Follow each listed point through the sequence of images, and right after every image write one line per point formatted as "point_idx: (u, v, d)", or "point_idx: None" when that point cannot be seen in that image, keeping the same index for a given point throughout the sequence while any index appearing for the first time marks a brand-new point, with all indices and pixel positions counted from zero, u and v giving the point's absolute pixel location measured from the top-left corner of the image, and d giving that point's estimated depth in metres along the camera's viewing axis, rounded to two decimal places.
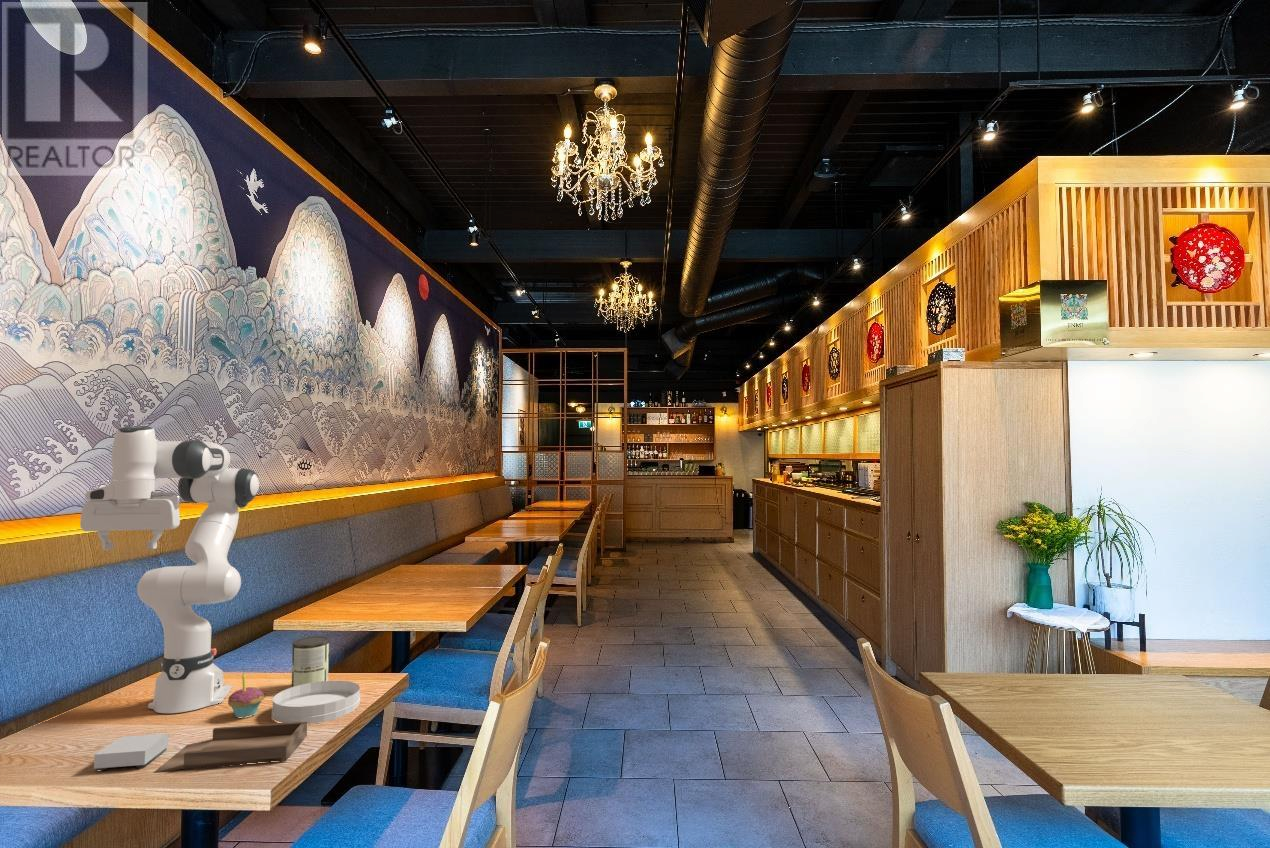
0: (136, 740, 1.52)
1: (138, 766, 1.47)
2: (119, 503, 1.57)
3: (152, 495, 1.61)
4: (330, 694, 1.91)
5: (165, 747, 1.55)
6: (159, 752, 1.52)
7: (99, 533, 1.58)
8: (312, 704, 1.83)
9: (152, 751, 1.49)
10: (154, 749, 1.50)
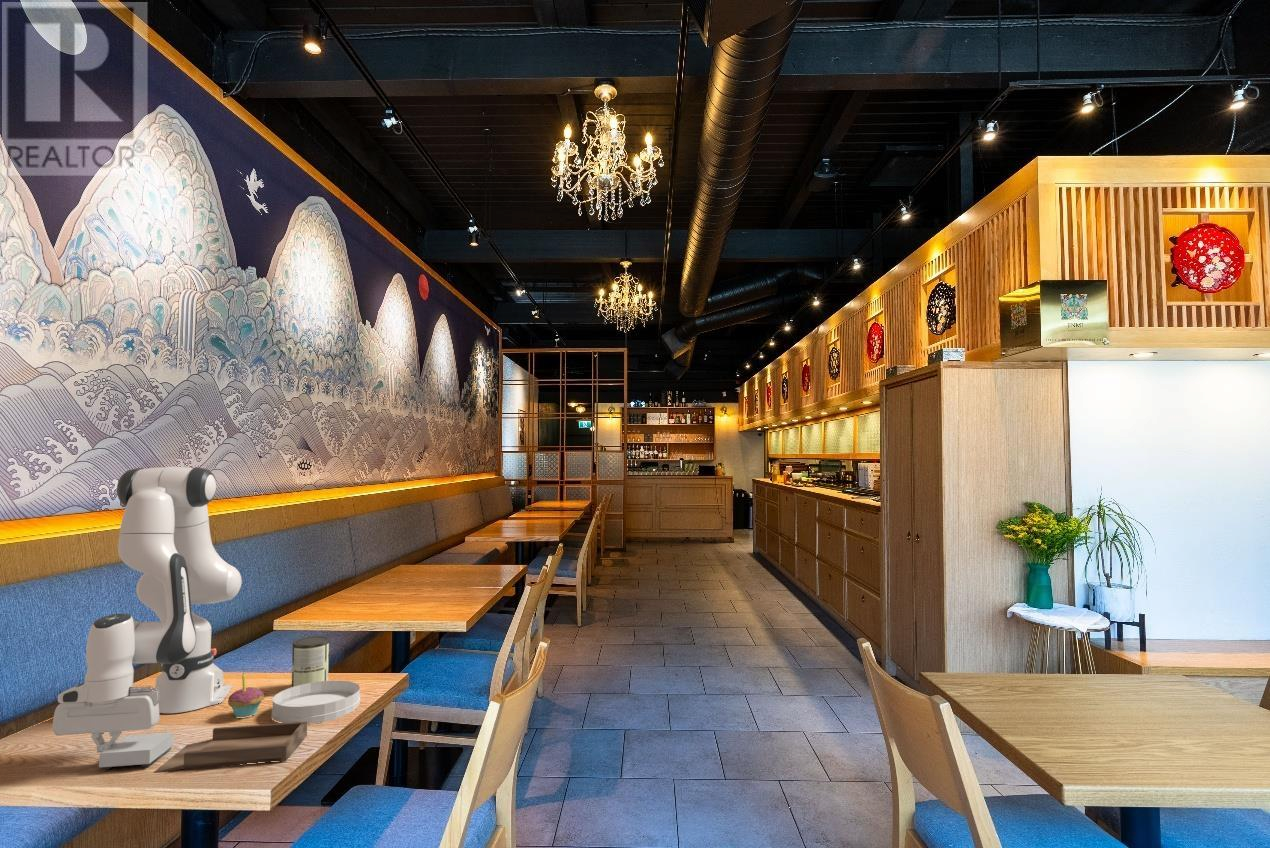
0: (141, 739, 1.53)
1: (143, 765, 1.47)
2: (94, 705, 1.47)
3: (129, 692, 1.51)
4: (330, 694, 1.91)
5: (170, 746, 1.55)
6: (164, 751, 1.53)
7: (93, 735, 1.48)
8: (312, 704, 1.83)
9: (157, 750, 1.50)
10: (159, 748, 1.50)
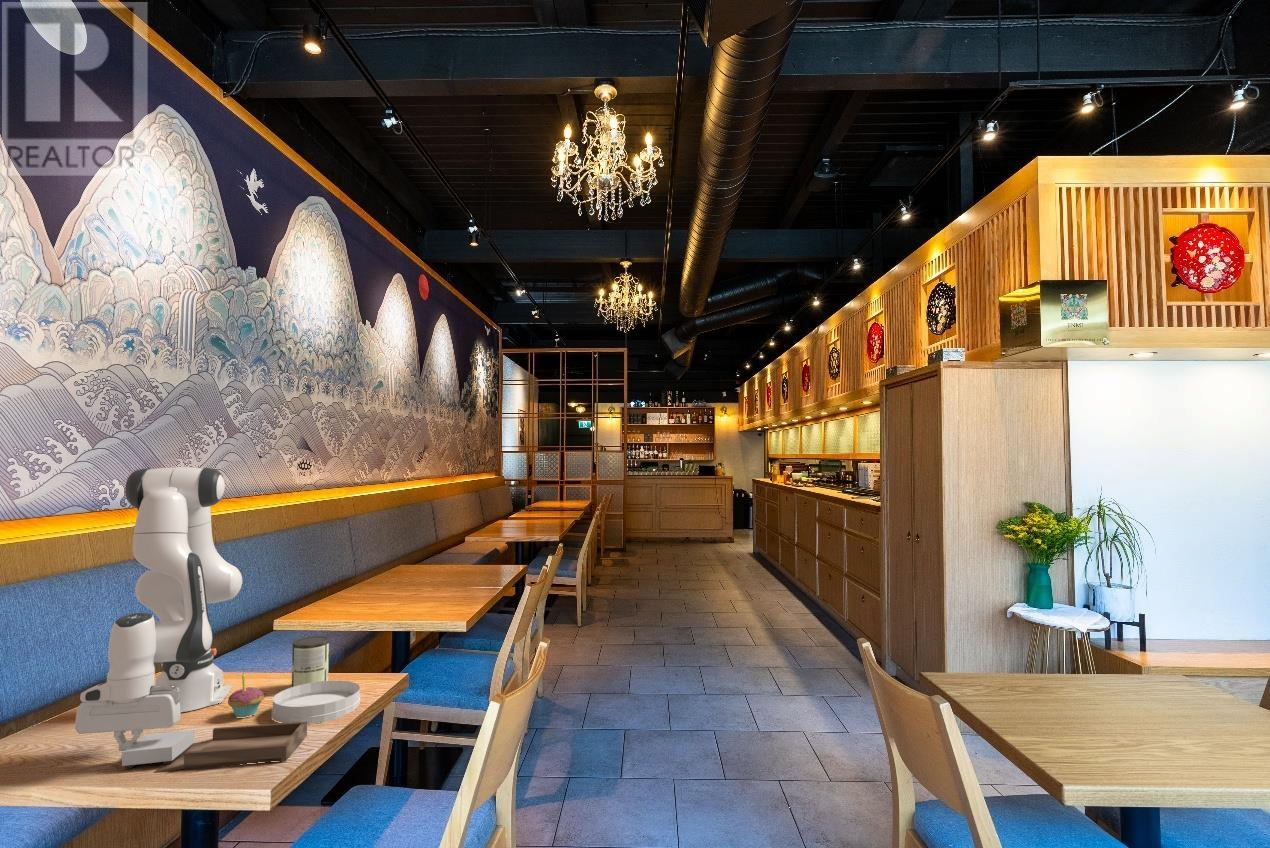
0: (162, 737, 1.53)
1: (165, 762, 1.47)
2: (116, 703, 1.48)
3: (151, 690, 1.52)
4: (330, 694, 1.91)
5: (191, 743, 1.56)
6: (185, 748, 1.53)
7: (115, 733, 1.49)
8: (312, 704, 1.83)
9: (179, 747, 1.50)
10: (181, 745, 1.51)
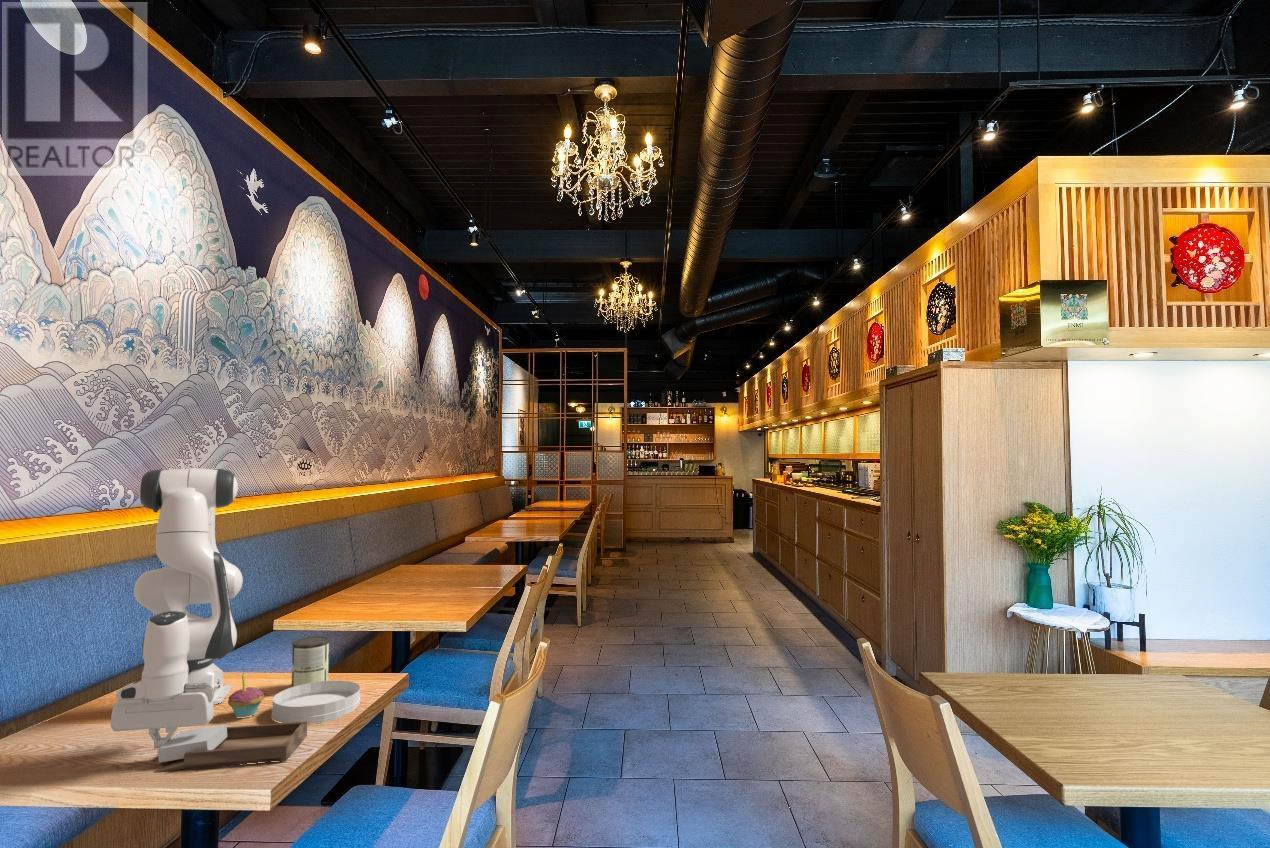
0: (196, 733, 1.55)
1: None
2: (151, 701, 1.49)
3: (185, 688, 1.53)
4: (330, 694, 1.91)
5: (225, 738, 1.57)
6: (220, 742, 1.55)
7: (150, 731, 1.50)
8: (312, 704, 1.83)
9: (213, 741, 1.52)
10: (215, 739, 1.53)
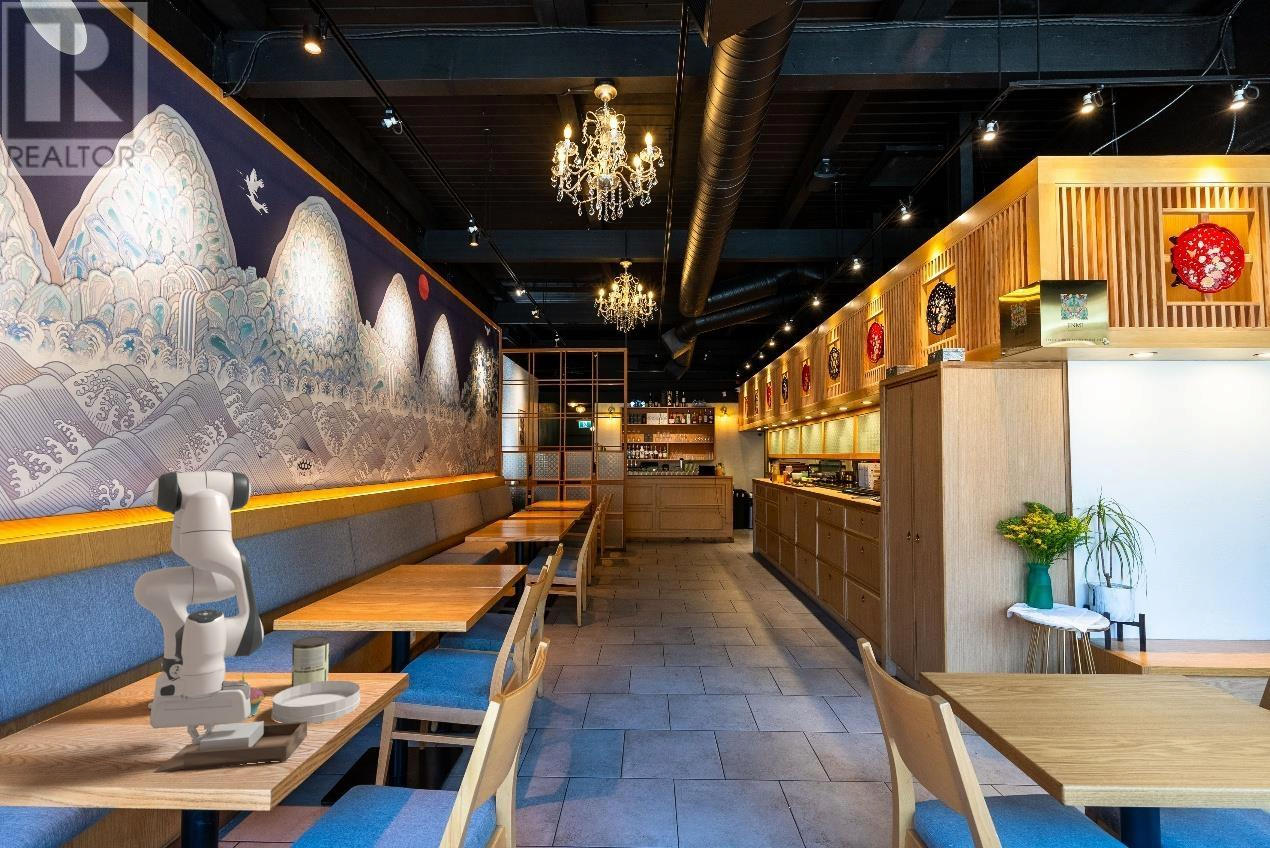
0: (235, 727, 1.56)
1: None
2: (190, 698, 1.51)
3: (223, 686, 1.54)
4: (330, 694, 1.91)
5: (262, 735, 1.59)
6: (257, 739, 1.56)
7: (189, 728, 1.52)
8: (312, 704, 1.83)
9: (253, 738, 1.54)
10: (254, 736, 1.54)
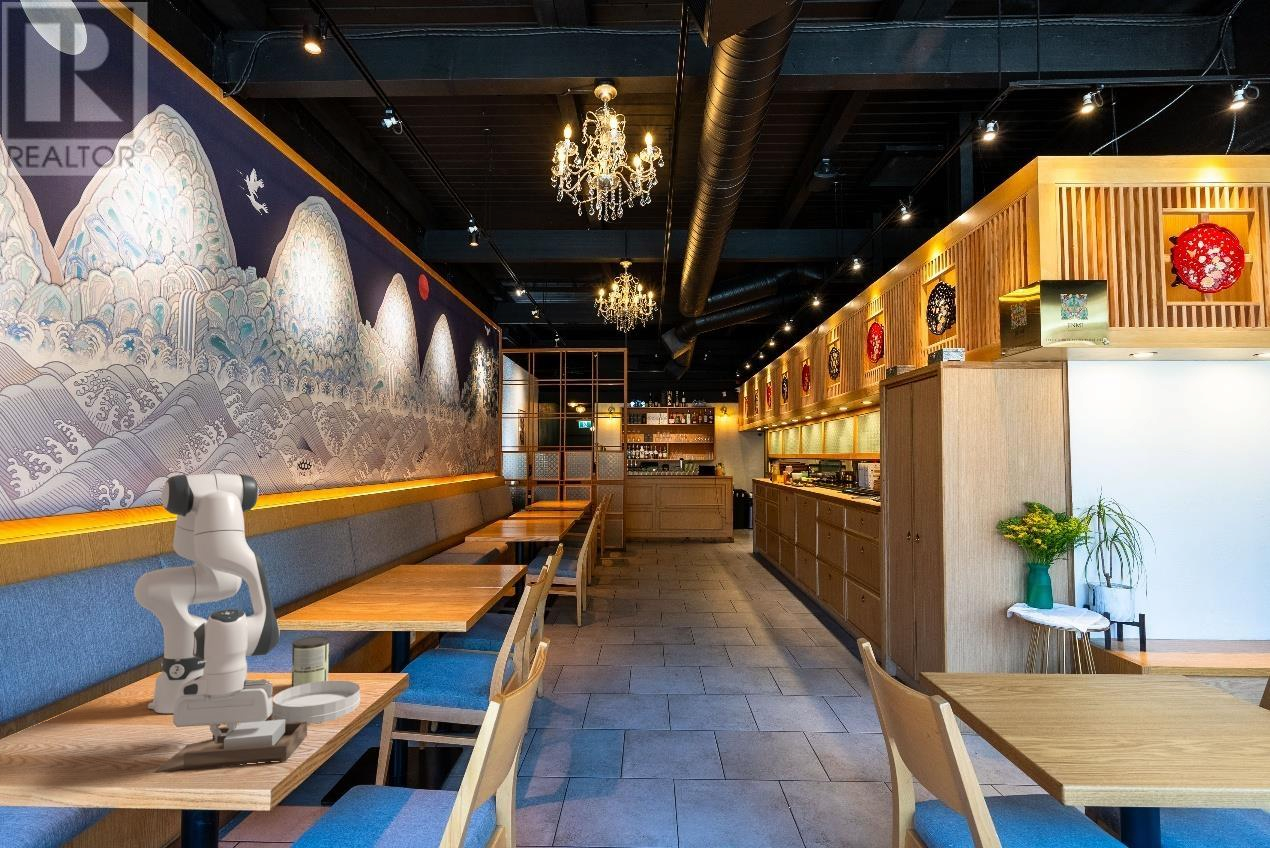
0: (257, 725, 1.57)
1: None
2: (213, 697, 1.51)
3: (245, 685, 1.55)
4: (330, 694, 1.91)
5: (283, 733, 1.60)
6: (280, 737, 1.58)
7: (211, 726, 1.53)
8: (312, 704, 1.83)
9: (276, 736, 1.55)
10: (277, 734, 1.56)
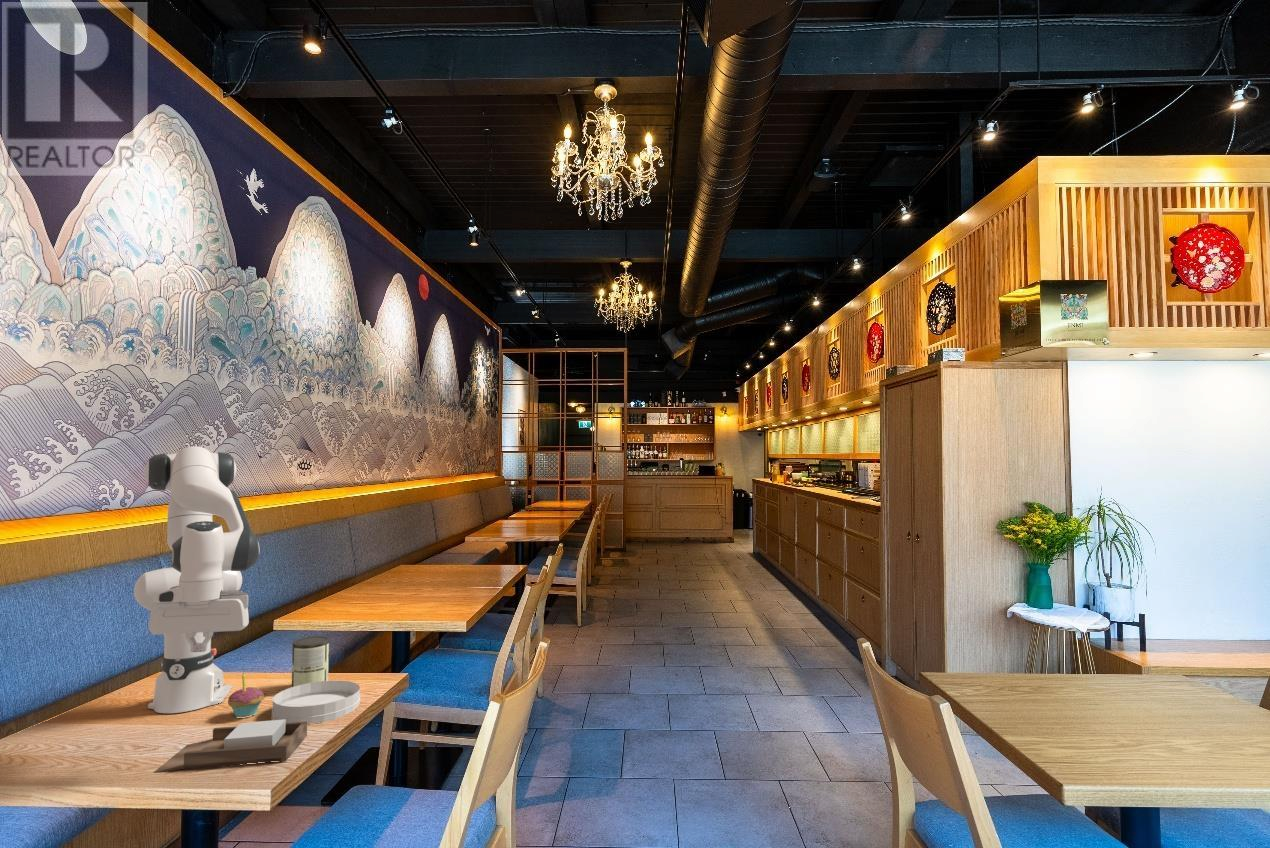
0: (257, 725, 1.57)
1: None
2: (189, 605, 1.52)
3: (221, 595, 1.56)
4: (330, 694, 1.91)
5: (284, 733, 1.60)
6: (280, 737, 1.58)
7: (187, 635, 1.53)
8: (312, 704, 1.83)
9: (276, 736, 1.55)
10: (277, 734, 1.56)
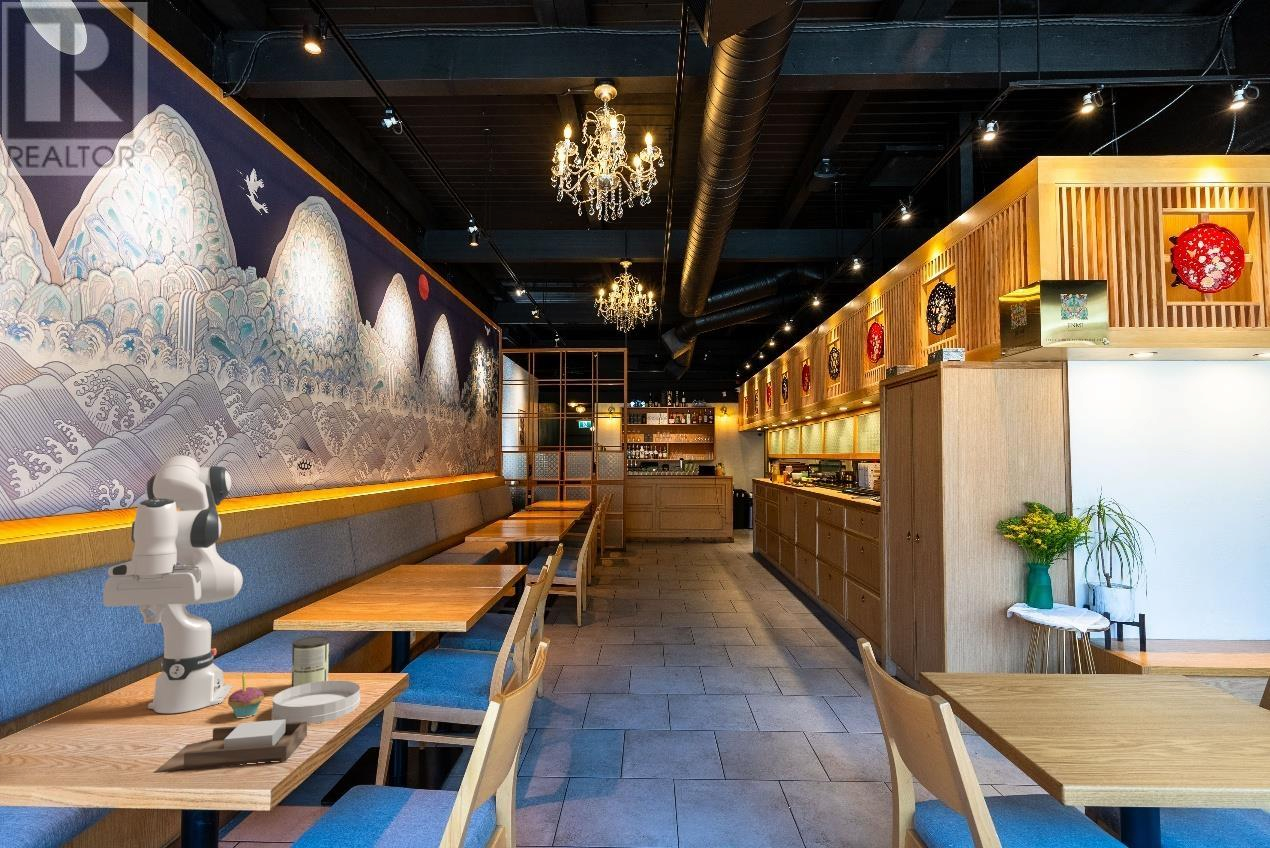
0: (257, 725, 1.57)
1: None
2: (141, 578, 1.58)
3: (174, 569, 1.61)
4: (330, 694, 1.91)
5: (284, 733, 1.60)
6: (280, 737, 1.58)
7: (140, 607, 1.59)
8: (312, 704, 1.83)
9: (276, 736, 1.55)
10: (277, 734, 1.56)
